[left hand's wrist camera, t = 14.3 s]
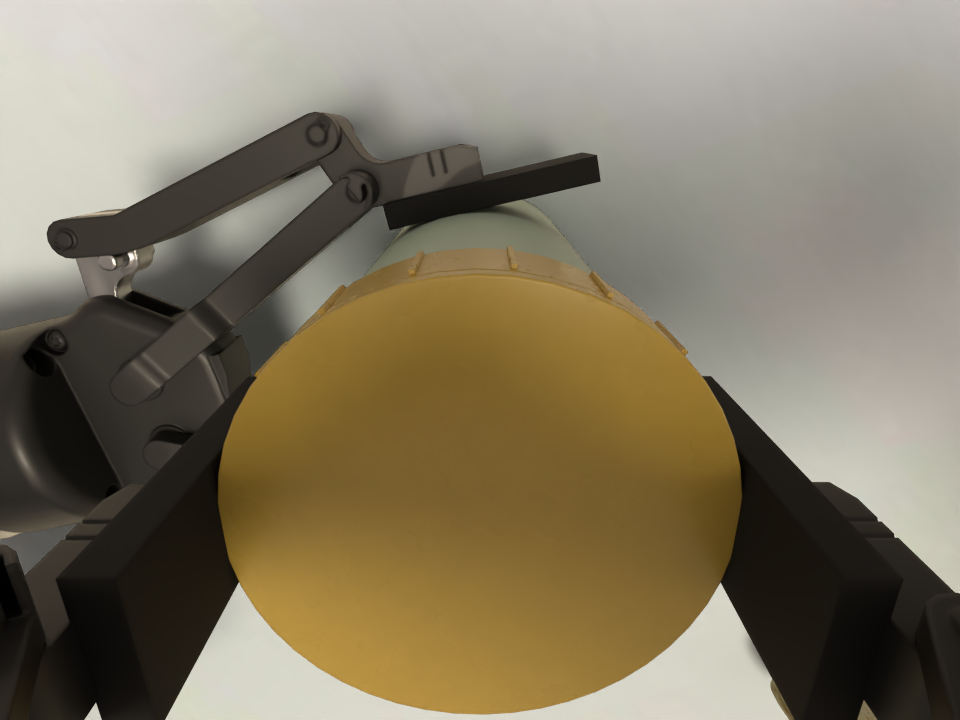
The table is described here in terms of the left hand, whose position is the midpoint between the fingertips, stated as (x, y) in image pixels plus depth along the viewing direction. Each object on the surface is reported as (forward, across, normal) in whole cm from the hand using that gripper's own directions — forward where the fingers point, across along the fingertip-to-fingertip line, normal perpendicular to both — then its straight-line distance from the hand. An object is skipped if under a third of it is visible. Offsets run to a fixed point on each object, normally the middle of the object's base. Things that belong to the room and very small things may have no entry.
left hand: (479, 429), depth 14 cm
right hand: (+7, -4, -1) cm, 8 cm away
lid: (-3, 0, 0) cm, 3 cm away
